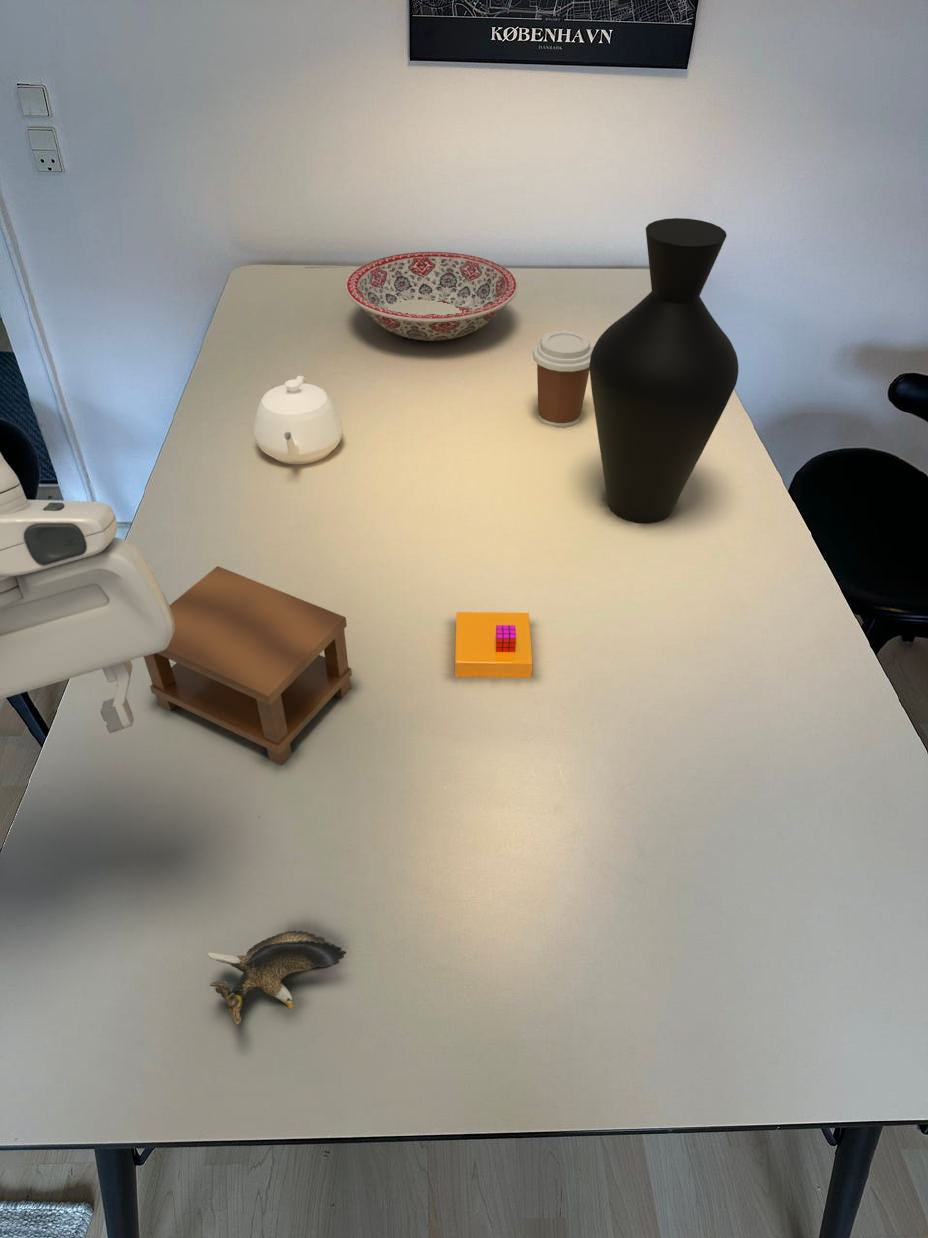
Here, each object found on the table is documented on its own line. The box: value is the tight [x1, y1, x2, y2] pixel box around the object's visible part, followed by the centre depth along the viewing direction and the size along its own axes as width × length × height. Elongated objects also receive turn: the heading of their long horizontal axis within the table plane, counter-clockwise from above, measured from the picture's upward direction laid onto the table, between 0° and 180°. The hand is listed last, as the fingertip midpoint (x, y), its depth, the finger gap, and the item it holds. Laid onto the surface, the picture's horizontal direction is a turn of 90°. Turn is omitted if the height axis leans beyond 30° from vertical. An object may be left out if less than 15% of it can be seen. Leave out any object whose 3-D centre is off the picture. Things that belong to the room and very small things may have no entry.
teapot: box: [252, 375, 344, 465], centre depth 125 cm, size 20×12×10 cm, turn 3°
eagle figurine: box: [207, 930, 347, 1027], centre depth 68 cm, size 8×7×9 cm
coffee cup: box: [532, 330, 594, 428], centre depth 132 cm, size 9×9×12 cm
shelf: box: [143, 565, 353, 766], centre depth 89 cm, size 12×16×10 cm
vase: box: [589, 217, 740, 525], centre depth 107 cm, size 17×17×35 cm
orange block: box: [454, 611, 533, 679], centre depth 97 cm, size 8×8×4 cm
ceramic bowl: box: [345, 251, 519, 341], centre depth 156 cm, size 29×29×8 cm
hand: (50, 749), depth 59 cm, fingers open, 8 cm apart
